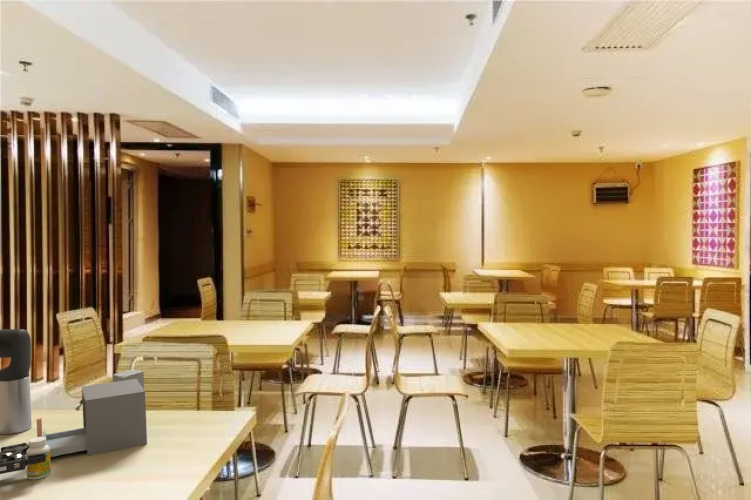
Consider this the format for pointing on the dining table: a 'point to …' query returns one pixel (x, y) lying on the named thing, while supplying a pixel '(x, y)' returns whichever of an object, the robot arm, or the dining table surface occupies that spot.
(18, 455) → the robot arm
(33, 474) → the supplement bottle
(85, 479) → the dining table surface
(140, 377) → the skincare box
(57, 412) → the dining table surface
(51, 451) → the drawer
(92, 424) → the cabinet
